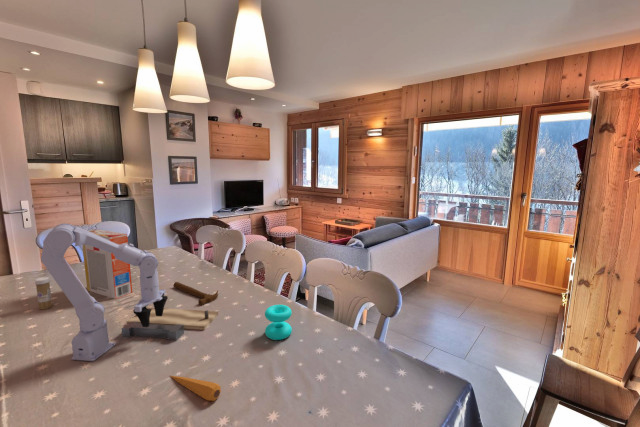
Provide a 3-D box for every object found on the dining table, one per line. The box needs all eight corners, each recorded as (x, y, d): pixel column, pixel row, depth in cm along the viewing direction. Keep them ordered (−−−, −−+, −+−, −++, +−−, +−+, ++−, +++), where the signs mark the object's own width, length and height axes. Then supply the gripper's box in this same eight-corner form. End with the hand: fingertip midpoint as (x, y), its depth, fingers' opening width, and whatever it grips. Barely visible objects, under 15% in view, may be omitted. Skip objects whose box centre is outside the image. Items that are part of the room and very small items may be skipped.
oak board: (204, 329, 113) (203, 319, 113) (127, 324, 116) (126, 314, 116) (218, 314, 125) (217, 304, 124) (147, 310, 128) (146, 300, 127)
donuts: (289, 301, 116) (293, 313, 106) (289, 325, 117) (294, 339, 108) (263, 304, 113) (265, 317, 103) (264, 328, 114) (266, 343, 105)
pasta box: (132, 292, 146) (127, 233, 142) (115, 299, 139) (109, 237, 134) (104, 284, 156) (98, 229, 151) (87, 290, 148) (80, 232, 144)
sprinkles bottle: (36, 310, 127) (32, 280, 125) (42, 305, 131) (38, 277, 129) (49, 309, 128) (45, 279, 126) (55, 304, 133) (51, 276, 131)
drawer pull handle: (176, 340, 106) (175, 331, 105) (122, 337, 108) (121, 328, 107) (184, 333, 111) (183, 324, 110) (132, 329, 113) (131, 321, 112)
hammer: (167, 290, 150) (201, 306, 133) (167, 284, 150) (201, 300, 132) (189, 283, 160) (223, 298, 142) (189, 278, 159) (223, 292, 142)
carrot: (221, 400, 80) (224, 382, 81) (209, 405, 76) (212, 386, 77) (174, 382, 89) (177, 366, 90) (160, 385, 86) (164, 369, 87)
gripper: (146, 295, 99) (149, 332, 101) (172, 279, 113) (174, 312, 115) (127, 294, 100) (130, 331, 102) (154, 278, 114) (157, 311, 116)
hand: (152, 321), depth 109 cm, fingers open, 7 cm apart
